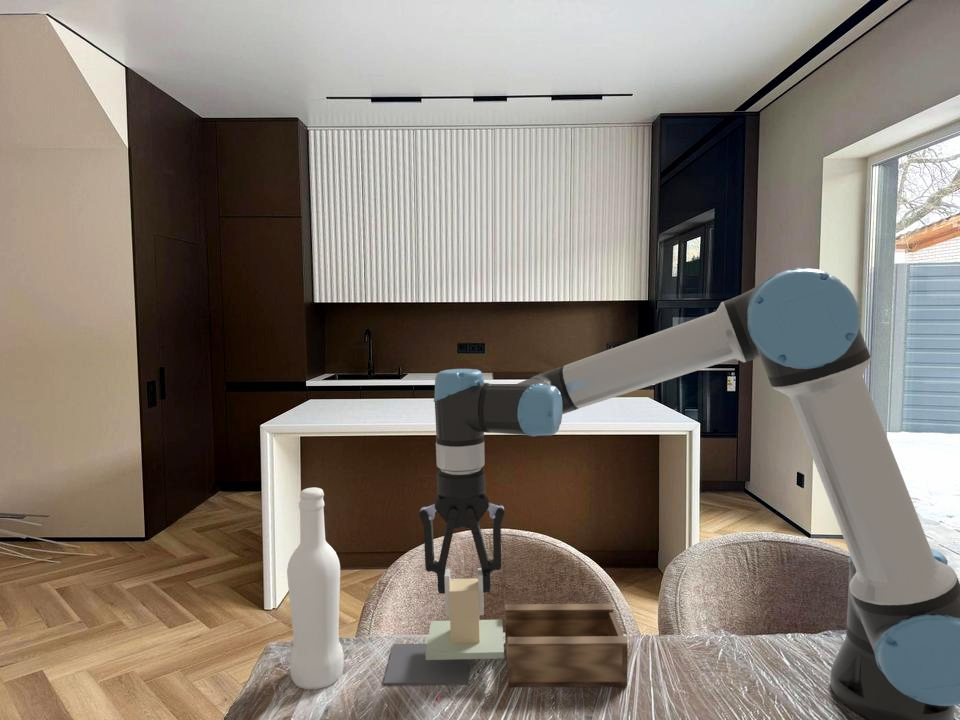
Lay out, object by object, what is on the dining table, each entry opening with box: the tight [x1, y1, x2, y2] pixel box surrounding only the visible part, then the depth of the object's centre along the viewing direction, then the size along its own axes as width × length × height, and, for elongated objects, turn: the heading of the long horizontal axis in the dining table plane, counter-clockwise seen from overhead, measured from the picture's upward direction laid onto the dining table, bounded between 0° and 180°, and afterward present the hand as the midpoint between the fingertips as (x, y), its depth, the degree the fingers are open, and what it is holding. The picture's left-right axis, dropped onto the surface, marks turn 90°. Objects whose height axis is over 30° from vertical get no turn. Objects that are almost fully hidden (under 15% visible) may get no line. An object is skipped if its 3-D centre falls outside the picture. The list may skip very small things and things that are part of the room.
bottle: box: [286, 487, 345, 690], centre depth 98 cm, size 8×8×30 cm
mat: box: [383, 643, 471, 686], centre depth 102 cm, size 13×11×1 cm
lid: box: [426, 577, 505, 660], centre depth 102 cm, size 12×10×10 cm
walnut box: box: [504, 603, 629, 688], centre depth 102 cm, size 18×12×7 cm
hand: (464, 611), depth 101 cm, fingers closed on lid, 4 cm apart
